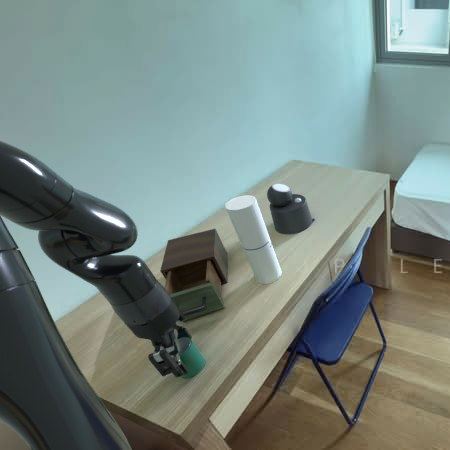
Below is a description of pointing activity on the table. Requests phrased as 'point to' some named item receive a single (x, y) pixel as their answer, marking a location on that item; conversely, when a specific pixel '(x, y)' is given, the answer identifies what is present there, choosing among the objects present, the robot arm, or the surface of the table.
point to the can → (189, 356)
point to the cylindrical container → (254, 238)
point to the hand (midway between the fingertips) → (184, 356)
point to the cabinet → (195, 252)
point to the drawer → (195, 288)
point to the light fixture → (288, 210)
